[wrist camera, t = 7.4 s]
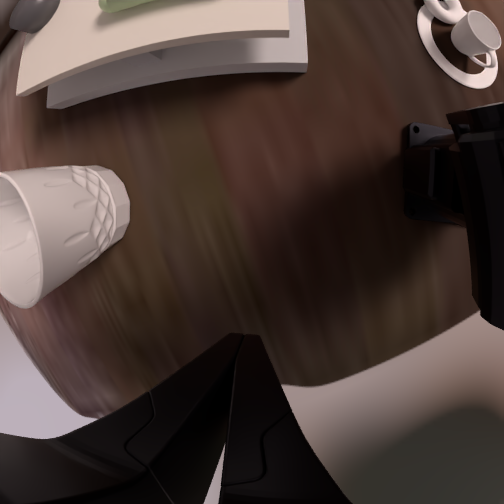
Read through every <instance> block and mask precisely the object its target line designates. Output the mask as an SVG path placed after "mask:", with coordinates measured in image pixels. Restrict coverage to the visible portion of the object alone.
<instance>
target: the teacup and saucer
mask: <svg viewBox="0 0 504 504" xmlns="http://www.w3.org/2000/svg"><path fill="white" fill-rule="evenodd" d="M423 1H424V3H425V4H424V5H423V6H422V7H421V8H420V10H419V12H418V16H417V26H418V31H419V34H420V37H421V39H422V42H423V44H424V46H425V48H426V49H427V51H428V52H429V54H430V55H431V57H432V58H433V59H434V61H435V62H436V63H437V64H438V65H439V67H440V68H441V69H442V70H443V71H444V72H446V73H447V74H448V75H449V76H450V77H452V78H453V79H454V80H456V81H457V82H459V83H461V84H463V85H465V86H467V87H470V88H475V89H482V88H486V87H488V86H490V85H491V84H492V83H493V82H494V80H495V78H496V75H497V70H498V63H497V57H496V53H495V50H496V49H498V48H499V47H500V46H501V37H500V34H499V32H498V30H497V28H496V27H495V25H494V24H493V22H492V21H491V20H490V19H489V18H488V17H487V16H485V15H484V14H482V13H481V12H478V11H475V10H472V11H470V12H468V13H467V12H465V11H464V10H462V7H461V4H460V2H459V1H458V0H444V1H445V2H444V1H437V0H423ZM434 16H435V17H436V18H437V19H439V20H441V21H442V22H444V23H447V24H456V23H457V24H456V25H455V26H454V27H453V29H452V32H451V40H452V43H453V45H454V46H455V47H456V49H457V50H458V51H460V52H461V53H463V54H465V55H468V56H469V58H470V59H471V60H472V61H474V62H475V63H477V64H478V65H480V66H482V67H485V69H484V71H483V72H481V73H480V74H476V75H471V74H467V73H464V72H462V71H460V70H459V69H457V68H456V67H454V66H453V65H452V64H451V63H450V62H449V61H448V60H447V59H446V58H445V57H444V56H443V55H442V53H441V52H440V51H439V49H438V48H437V46H436V44H435V42H434V40H433V37H432V33H431V21H432V19H433V18H434ZM484 53H486V55H487V64H484V63H482V62H480V61H479V60H478V59H476V58H475V57H474V56H475V55H480V54H484Z"/></svg>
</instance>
